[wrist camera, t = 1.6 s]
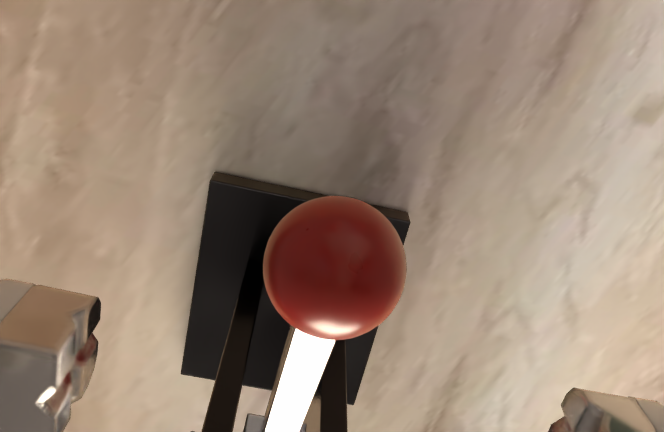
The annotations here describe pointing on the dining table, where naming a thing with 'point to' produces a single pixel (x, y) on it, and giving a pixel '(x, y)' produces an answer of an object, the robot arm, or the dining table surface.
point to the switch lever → (325, 294)
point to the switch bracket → (257, 307)
